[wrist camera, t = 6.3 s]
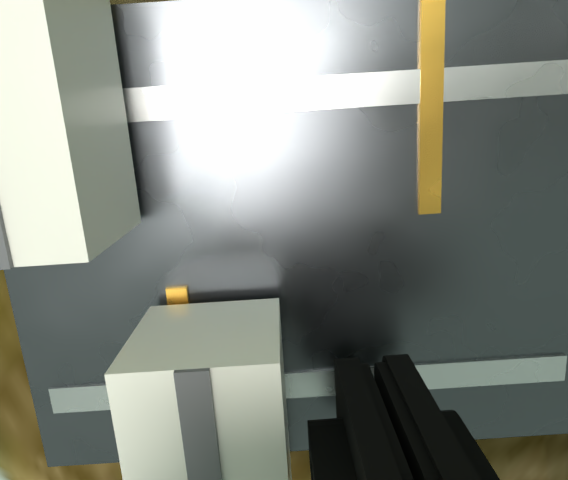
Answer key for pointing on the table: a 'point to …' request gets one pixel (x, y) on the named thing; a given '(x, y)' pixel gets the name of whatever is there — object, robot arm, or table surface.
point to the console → (332, 205)
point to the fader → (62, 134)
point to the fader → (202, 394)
